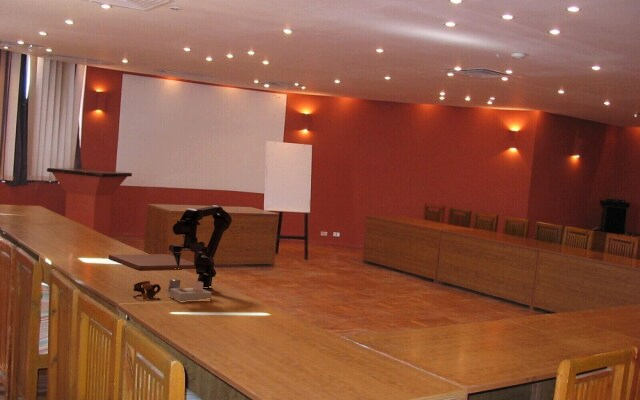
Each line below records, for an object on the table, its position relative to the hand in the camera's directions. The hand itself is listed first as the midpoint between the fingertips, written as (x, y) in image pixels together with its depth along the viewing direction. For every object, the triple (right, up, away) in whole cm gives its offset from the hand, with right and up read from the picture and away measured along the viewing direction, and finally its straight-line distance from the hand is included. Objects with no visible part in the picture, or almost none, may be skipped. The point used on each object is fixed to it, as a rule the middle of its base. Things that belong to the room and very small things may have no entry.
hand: (186, 266), depth 338 cm
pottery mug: (-14, -12, -23) cm, 29 cm away
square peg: (+7, -14, -14) cm, 21 cm away
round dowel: (-5, -12, -6) cm, 14 cm away
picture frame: (-31, -6, +64) cm, 71 cm away
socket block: (+5, -14, -16) cm, 22 cm away
